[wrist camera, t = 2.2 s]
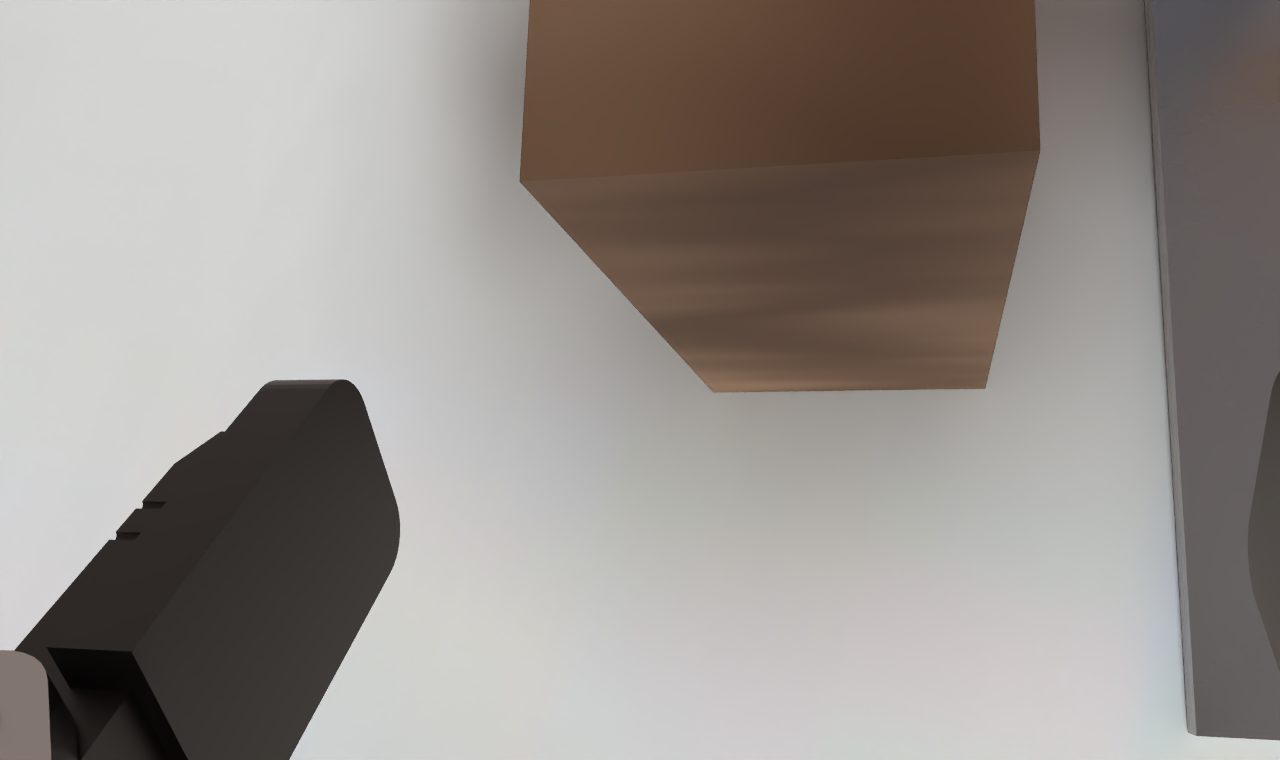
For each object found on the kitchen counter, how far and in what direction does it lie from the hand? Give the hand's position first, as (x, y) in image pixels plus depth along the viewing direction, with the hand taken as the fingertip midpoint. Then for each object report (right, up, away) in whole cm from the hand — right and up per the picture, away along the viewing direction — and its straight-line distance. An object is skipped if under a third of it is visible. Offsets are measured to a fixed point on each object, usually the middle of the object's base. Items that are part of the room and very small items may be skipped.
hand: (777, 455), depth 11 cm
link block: (+2, +3, +10) cm, 10 cm away
